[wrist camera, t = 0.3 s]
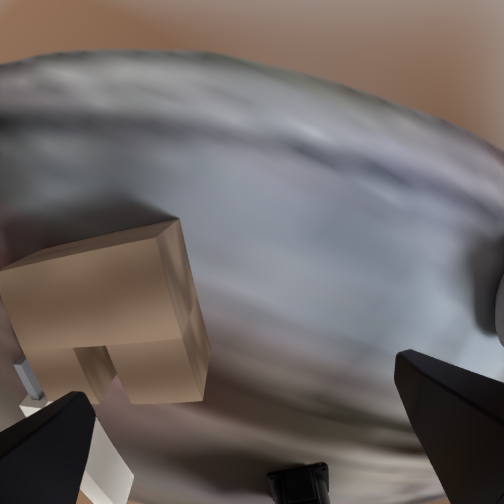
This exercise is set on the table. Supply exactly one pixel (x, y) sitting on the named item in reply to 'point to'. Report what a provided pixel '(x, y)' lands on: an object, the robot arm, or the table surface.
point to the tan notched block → (111, 316)
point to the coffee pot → (500, 311)
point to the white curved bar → (101, 450)
